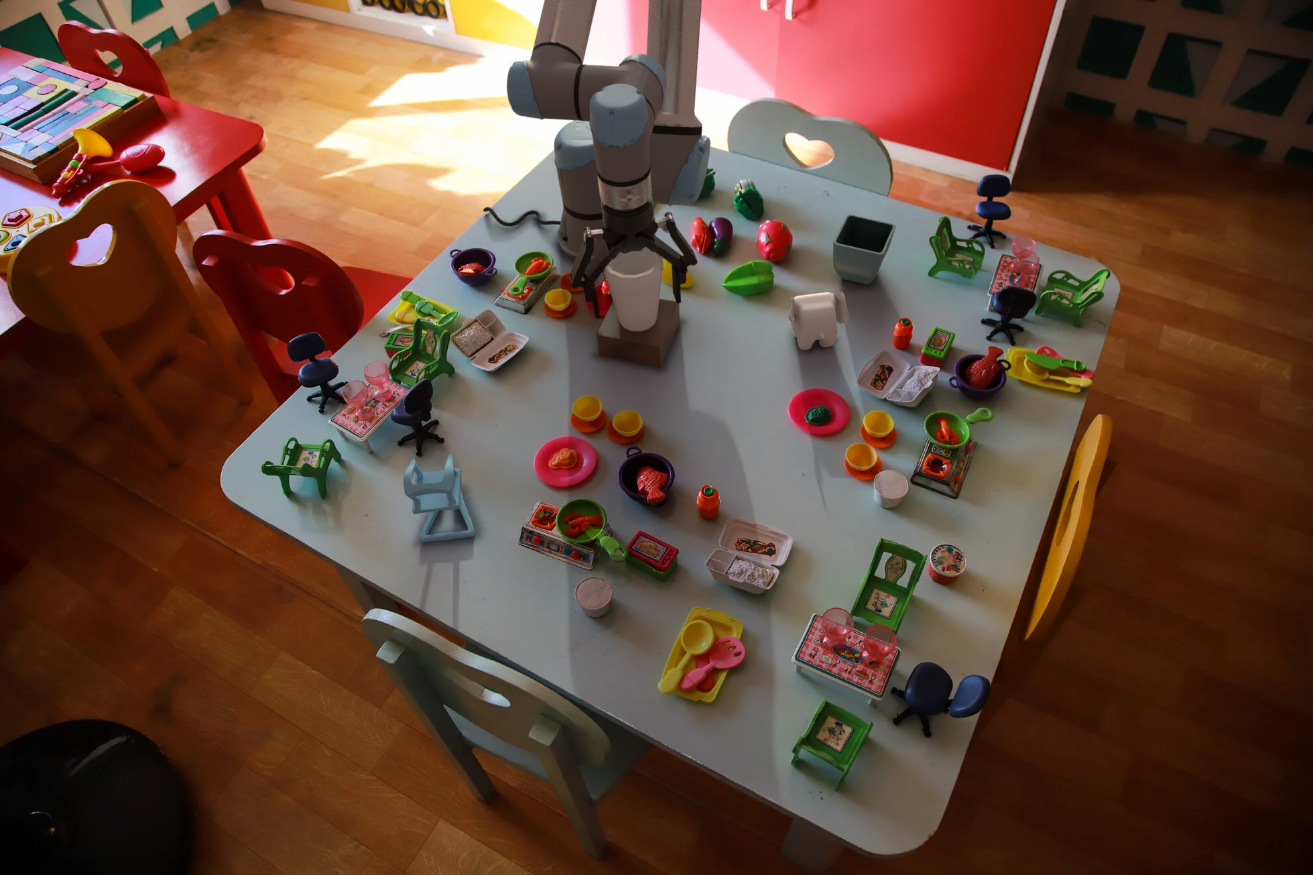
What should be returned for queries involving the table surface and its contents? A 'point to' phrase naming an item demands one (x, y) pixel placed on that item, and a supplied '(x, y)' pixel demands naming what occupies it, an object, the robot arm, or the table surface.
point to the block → (639, 336)
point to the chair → (437, 497)
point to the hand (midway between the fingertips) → (637, 305)
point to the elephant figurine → (817, 318)
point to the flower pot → (861, 248)
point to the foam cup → (635, 287)
